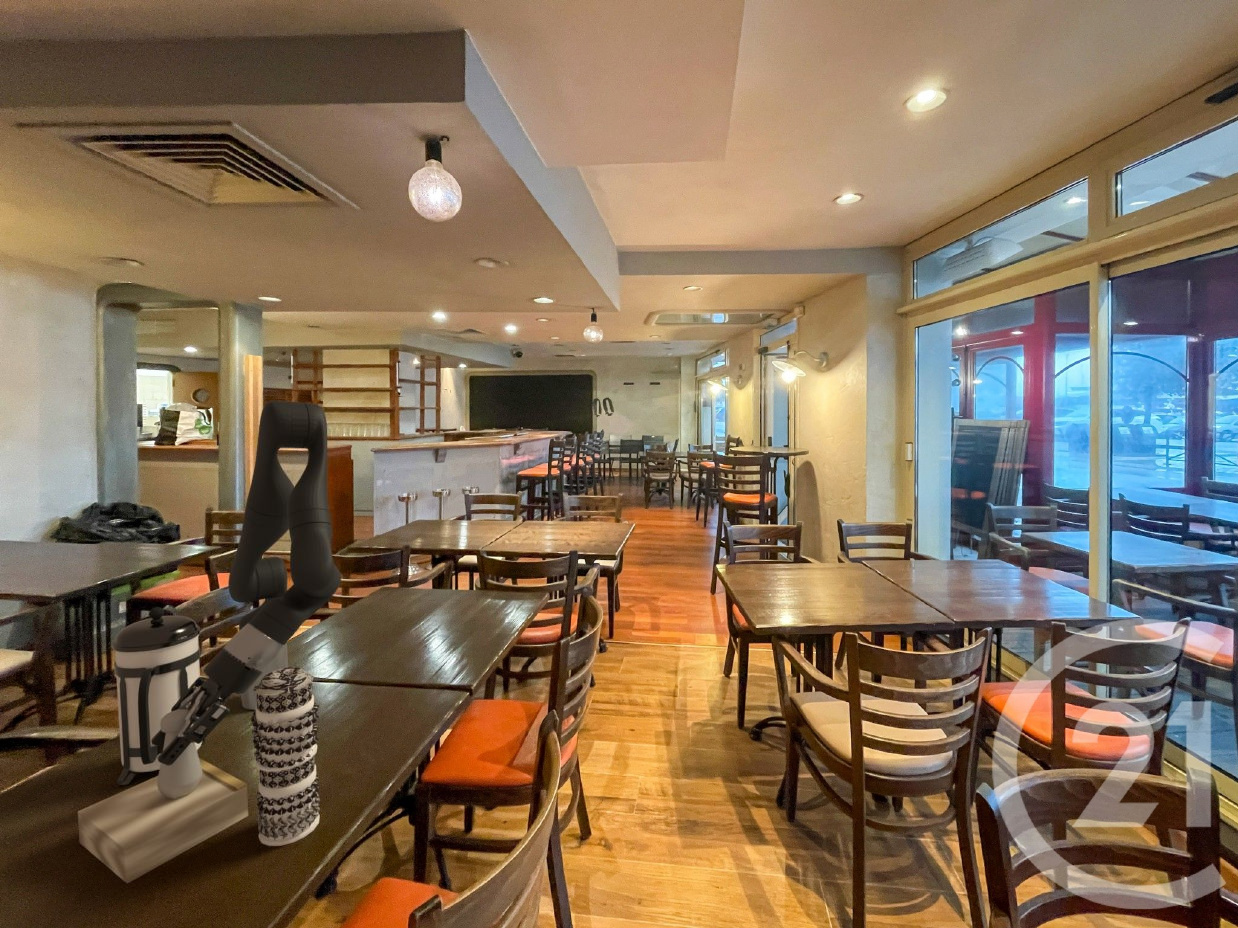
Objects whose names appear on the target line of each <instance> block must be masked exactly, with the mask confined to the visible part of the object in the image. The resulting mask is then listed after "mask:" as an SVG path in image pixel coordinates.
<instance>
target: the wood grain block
mask: <svg viewBox="0 0 1238 928" xmlns="http://www.w3.org/2000/svg"><path fill="white" fill-rule="evenodd" d="M199 761H200V764H201V767H202V777H201V779H200V782H199V784H198V787H197V788H196V789H195V790H194V791H193V792H192V793H191V794H189V795H187V796H184V797H181V798H178V799H175V800H173V799H167V798H165V797H164V796H163V795H162V794H161V792H160V791H159V790H158V787H157V781H158V775H157V776H155V777H152V778H150V779H148V780H145V781H144V782H141V783H139V784H136V785H134V786H132V787H130V788H127V789H125V790H123V791H121V792H118V793H116V794H114V795H112V796H110V797H107V798H105V799H103V800H100V801H98V802H96V803H94V804H91V805H89V806H87V807H84V808H82V809H80V810H77V820H78V821H77V823H78V824H77V825H78V835H79V836H78V838H79V840H78V841H79V844H80V845H81V846H83V848H84V849H86V850H88V851H89V852H90V853H91V855H93V856H94V857H96V858H97V860H99V861H100V862H101V863H102V864H103V865H105V866H106V867H107V868H108V869H110V870H111V871H112V872H113V873H114V874H115V875H116V876H117V877H119V878H120V879H121V880H122V881H123V882H124V883H126V884H129V883H131V882H133V881H134V880H136V879H138V878H140V877H142V876H143V875H145V874H147V873H149V872H151V871H153V870H154V869H156V868H157V867H159V866H161V865H164V864H165V863H167V862H168V861H170V860H172V859H174V858H176V857H177V856H179V855H181V854H183V853H184V852H186V851H188V850H190V849H191V848H193V847H195V846H197V845H199V844H200V843H202V842H205V841H206V840H208V839H209V838H211V837H213V836H215V835H217V834H219V833H221V832H222V831H224V830H225V829H227V828H229V827H231V826H233V825H235V824H236V823H238V822H239V821H241V820H243V819H245V818H247V817H249V803H248V801H249V800H248V784H247V783H246V782H245V781H242V780H240V779H239V778H237V777H235V776H233V775H232V774H229V773H227V772H225V771H224V770H222V769H221V768H219V767H217V766H215V765H214V764H212V763H210V762H208V761H206V760H204V759H202V758H200V757H199Z"/></svg>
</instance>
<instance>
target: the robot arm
mask: <svg viewBox="0 0 1238 928" xmlns="http://www.w3.org/2000/svg"><path fill="white" fill-rule="evenodd" d="M327 423H328V422H327V418H326V414H325V411H324V409H323V408H322V407H321V406H320V405H319V404H317V403H311V402H303V401H301V402H300V401H289V400H286V401H285V400H270V401H267V402H266V403H265V404H264V406H263V408H262V410H261V414H260V419H259V426H258V434H257V435H258V436H257V444H256V454H255V462H254V467H253V468H254V469H253V474H252V478H251V482H250V487H249V491H248V495H247V499H246V504H245V509H244V515H243V521H242V527H241V533H240V537H239V543H238V545H237V548H236V551H235V555H234V558H233V561H232V563H231V568H230V569H229V570H230V571H229V575H228V583H227V585H228V593H229V596H230V598H231V599H232V600H233V601H234V602H236V603H241V604H242V603H243V604H245V603H251V602H257V601H262V600H264V601H263V602H262V604H260V605H259V606H258V607H256V609H253V610H251V611H250V612H249V613H246V614H245V615H243V616H242V617H241V618H240V619H239V623H238V631H237V632H236V633H235V634H234V636H232V638H230V640H229V641H227V642H226V644H224V646H223V647H222V649H220V651H218V653H217V654H215V656H214V657H213V658H212V659H211V660H210V661H209V663H207V665H206V666H205V667H204V668H203V673H204V674H205V676H207V677H208V678H207V679H204V678H203V677H202V676H200V677H199V678H197V679H196V680H195V682H194V683H193V684H192V685H191V686H190V688H189V689H188V690H187V691H186V692H185V693H184V695H183V696H182V697H181V698H180V699H179V700H178V701H177V703H176V704H175V705H174V706H173V707H172V709H171V711H175V710H180V709H189V710H190V712H189V713H188V715H187V716H186V718H185V721H186V724H185V725H184V727H183V728H182V730H181V731H180V733H179V734H178V736H176V737H175V738H174V739H173V741H172V742H171V743H170V744H169V745H168V746H167V747H166V748H165V750H164V751H163V752H162V753H161V754H160V755H159V756H158V761H159V762H160V763H163V764H165V765H168V766H169V765H172V764H173V763H174V762H175V761H176V759H177V758H178V757H179V756H180V755H181V754H182V753H183V751H184V750H185V749H186V748H187V747H188V746H189V745H190V743H194V742H195V743H197V744H200V743H201V742H202V741H203V740H204V739H205V740H206V737H208V736H209V734H210V733H211V732H212V731H213V730H214V729H215V728H216V727H217V726H218V724H220V723H221V722H222V721H223V720H224V719H225V717H226V716H227V715H228V714H229V713H230V711H231V708H230V707H227V706H226V705H225V704H226V703H227V702H228V700H229V698H230V697H231V695H233V694H237V695H240V702H241V704H242V708H243V709H245V710H254V711H255V710H256V707H257V694H256V693H255V691H254V687H255V686H256V685H257V684H258V683H260V682H261V680H262V679H263V677H264V676H266V675H267V674H268V673H270V672H273V671H275V670H278V669H282V668H288V667H289V663H288V661H289V660H288V642H289V641H290V639H291V638H292V637H293V636H294V635H295V634H296V633H297V631H298V630H299V629H300V627H302V625H303V624H304V623H305V622H306V621H307V620H308V619H310V618H311V617H313V615H314V614H315V613H317V612H318V611H319V610H320V609H321V608H322V607H323V606H325V604H327V602H329V600H331V598H332V597H333V596H334V595H335V593H337V590H338V589H339V588H340V585H341V582H342V573H341V571H340V569H339V568H338V566H337V565H336V564H335V562H334V557H333V552H332V551H333V550H332V543H331V541H332V539H333V525H332V521H331V514H330V506H329V497H328V425H327ZM281 448H282V449H285V448H286V449H307V455H308V457H307V458H308V459H307V463H306V466H305V468H304V471H303V473H302V474H301V475H300V478H299V479H298V481H297V482H296V483H295V485H294V484H293V482H292V481H291V479H290V478H289V476H288V475H287V474H286V472H285V470H284V468H283V467H282V465H281V463H280V461H279V458H278V452H279V450H280V449H281ZM288 531H289V533H288V534H289V538H290V552H289V553H290V554H289V569H290V571H289V573H290V576H291V581H292V585H291V586H290V587H289V588H288V570H287V565H286V564H285V561H284V560H283V559H282V557H278V556H271V557H264V558H262V557H263V555H264V554H265V553H266V552H267V551H268V550H269V549H270V548H271V547H273V546H274V545H275V544H276V543H277V542H278V541H279V540H280V539H281V538H282V537H284V535H285V534H286V533H287V532H288ZM189 703H190V704H189ZM197 717H198V718H197ZM192 724H193V725H192ZM165 735H166V733H165V732H162V731H161V729H160V731H159V732H158V733H157V734H156V735H155V736H154V737H153V738H152V740H151V742H152V744H153V745H156V746H158V747H160V748H163V747H164V741H165Z"/></svg>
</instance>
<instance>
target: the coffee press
mask: <svg viewBox="0 0 1238 928" xmlns="http://www.w3.org/2000/svg"><path fill="white" fill-rule="evenodd" d="M165 613H166V612H165V611H164V609H163V608H162V607H160V606H157V607H153V608H151V609H150V611H149V612H148V614H147V615H148V616H149V618H146V619H142V620H139V621H136V622H133V623H131V624H129V625H127V626H124V628H122V629H121V630H120V631H118V633H117V634H116V636H115V638H114V639H113V641H112V642H111V648H112V650H113V651H114V654H115V655H114V656H115V661H114V663H113V665H114V666H113V667H114V675H115V676H116V691H117V693H116V694H117V705H118V706H117V708H118V727H119V729H118V730H119V742H120V743H119V744H120V758H121V759H120V760H121V765H122V771H121V772H120V773H119V774H120V775H119V776H118V777H117V781H116V784H117V785H120V786H122V787H123V786H124V787H126V786H128V785H130V784H131V782H132V781H133V780H134V778H135V776H136V775H137V774H139V773H145V772H146V773H148V772H155V771H157V770H160V765H161V763H160V762H159V761H158V756H159V755H160V754H161V753H162V752H163V748H164V747H163V748H160V747H158V746H156V745H153V744H152V742H151V740H152V738H153V737H154V736H155V735H156V734H157V733H158V732H159V731H160V729H161V726H160V723H161V719H162V718H163V717H164V716H165V715H166V714H168V713H170V712H172V711H171V709H172V707H173V706H174V705H175V704H176V703H177V701H178V700H179V699H180V698H181V697H182V696H183V695H184V693H185V692H186V691H187V690H188V689H189V688H190V686H191V685H192V684H193V683H194V682H195V680H196V679H197V678H199V677H201V674H200V673H201V671H200V658H201V646H200V645H199V636H200V633H201V627H200V626H199V625H198V624H197V623H196V621H195V620H194V619H192V618H191V617H188V616H185V615H164V614H165ZM189 704H190V703H189ZM197 718H198V717H197ZM192 725H193V724H192ZM205 741H206V738H205V739H204V740H203V741H202V742H201V743H200V744H197V743H195V746H196V750H197V751H198V750H199V749H200V747H202V746H203V745H204V744H205ZM129 771H130V773H129Z"/></svg>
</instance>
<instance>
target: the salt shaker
mask: <svg viewBox="0 0 1238 928" xmlns="http://www.w3.org/2000/svg"><path fill="white" fill-rule="evenodd" d="M189 712H190V710H189V709H180V710H175V711H172V712H170V713H168V714H166V715H165V716H164V717H163V718H162V719H161V723H160V726H161V731H162V732H165V733H166V735H165V741H164V748H163V751H164V750H165V748H166V747H167V746H168V745H169V744H170V743H171V742H172V741H173V739H174V738H175V737H176V736H178V734H179V733H180V731H181V730H182V728H183V727H184V725H185V724H186V721H185V718H186V716H187V715H188V713H189ZM199 758H200V757H199V754H198V750H196V746H195V742H194V743H190V745H189V746H188V747H187V748H186V749H185V750H184V751H183V753H182V754H181V755H180V756H179V757H178V758H177V759H176V761H175V762H174V763H173V764H172V765H169V766H168V765H165V764H163V763H161V765H160V769H159V771H158V775H157V776H158V781H157V787H158V790H159V791H160V792H161V794H162V795H163V796H164V797H165V798H167V799H173V800H175V799H178V798H181V797H184V796H187V795H189V794H191V793H192V792H193V791H194V790H195V789H196V788H197V787H198V784H199V782H200V779H201V777H202V767H201V764H200V761H199Z"/></svg>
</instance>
